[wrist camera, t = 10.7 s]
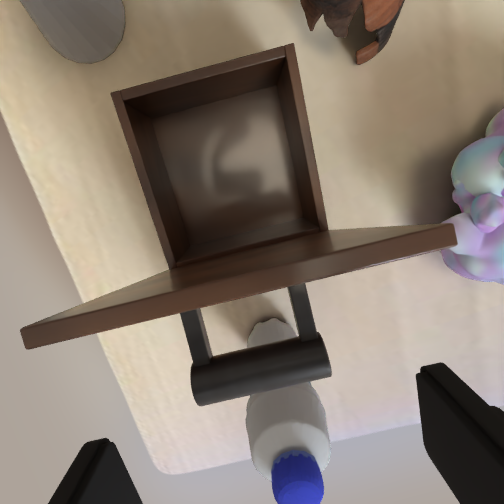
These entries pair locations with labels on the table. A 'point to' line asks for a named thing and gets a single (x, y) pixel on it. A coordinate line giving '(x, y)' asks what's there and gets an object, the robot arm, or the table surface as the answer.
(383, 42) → the pottery mug
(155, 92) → the chest
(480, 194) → the iridescent bubble cluster
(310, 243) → the lid
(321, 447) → the bottle
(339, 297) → the table surface
